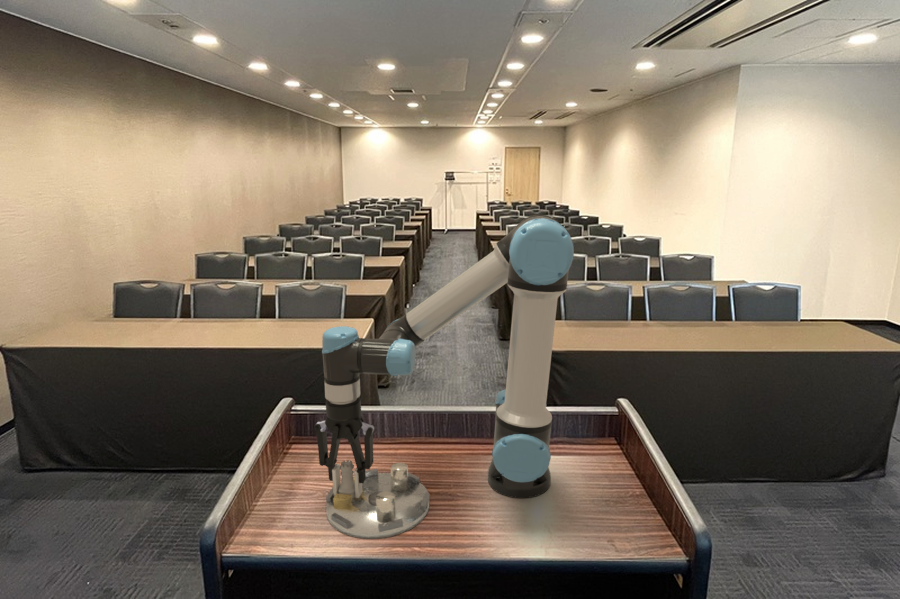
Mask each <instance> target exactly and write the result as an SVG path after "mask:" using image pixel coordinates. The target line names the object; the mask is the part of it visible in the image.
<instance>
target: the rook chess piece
mask: <svg viewBox="0 0 900 599" xmlns="http://www.w3.org/2000/svg"><path fill="white" fill-rule="evenodd" d="M354 467H355V465H354V463H353V461H352V460H350V459H346V461H345V460H342V462H341V463H340V467H339V468H340V476H341V480H340V482H341V484H340V487H339V489H338V491H339V493H338V494H347V495H352V498H354V497H355V482H354V480H353V477H354V471H353V469H354Z"/></svg>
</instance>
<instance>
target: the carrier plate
mask: <svg viewBox="0 0 900 599" xmlns="http://www.w3.org/2000/svg"><path fill="white" fill-rule="evenodd" d="M365 471H366V479H365V481H364V483H362V493H361V495H360V497H359V498H355V497H354V498H352V495H347V494H336V495H335V496H334V494H333V487H332V488H330V491H329V492H328V494H327V495H326V497H325V500H326V503H325V510H326V518H327V521H328V522H329V524H330V525H331V527H333V528H334V529H335V530H337V531H338V532H340V533H342V534H344V535H346V536H349V537H352V538H357V539H363V540H365V539H367V540H368V539H369V540H373V539H375V540H376V539H377V540H378V539H386V538H390V537H394V536H397V535H401V534H403V533H405V532H407V531H409V530H411V529H413V528H415V527H416V526H418V525H419V524H420V523H421V522H423V520H424V519H425V518H426V516H427V514H428V512H429V509H430V492H429V491H428V489H427V488H426V486H425V485H424V484H423V483H422V482H421V477H419V476H417V475H415V474H413V473H411V472H409V465H408V464H406V463H404V462H397V463H392V464H391V466H390V472H379V470H378V468H372V469H366V470H365ZM353 480H354V482H355V477H354V476H353Z"/></svg>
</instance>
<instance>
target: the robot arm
mask: <svg viewBox="0 0 900 599" xmlns="http://www.w3.org/2000/svg"><path fill="white" fill-rule="evenodd" d="M574 253H575V248H574V242H573V240H572V237H571V235H570V233H569V232H568V231H567V229H566V227H564V226H563V225H562V224H561V222H559V220H556V219H555V218H554V217H551V216H549V215H545V214H534V215H529V216H528V217H526V218H524V219H523V220H521V221H520V222H519V223H518V224H517V225H515V227H514V228H513V229H511V230H510V232H508V234H506V235H505V236H503V238H501V239H500V240H498V241H497V242H496V243H495V244H494V249H493V251H491V252H490V253H488V254H487V255H486V256H484V257H483V258H482V259H480V260H478V261H477V262H476V263H474V264H473V265H472V266H471V267H469V268H468V269H466V270H465V271H463V272H462V273H461V274H459V275H458V276H456V277H455V278H454V279H453V280H451V281H449V282H448V283H446V285H444V286H442V287H441V288H439V290H437V291H436V292H434V293H433V294H432V295H430V296H429V297H427V298H426V299H425V300H424V301H422V302H421V303H419V304H418V305H416V306H415V307H414V308H412V309H411V310H410V311H408V312H407V313H406V314H404V315H403V316H401V317H400V318H398V319H396V320H393V321H392V322H391V323H390V324H388V325H387V326H386V328H385V330H384V331H383V332H382V334H381V335H380V337H378V338H363V337H360V336H359V334H358V330H357V329H356V328H354V327H350V326H346V325H344V326H342V325H341V326H335V327H331V328H328V329H327V330H325V331H324V332H323V334H322V336H321V337H322V338H321V339H322V344H321V345H322V350H321V354H322V362H323V363H322V364H323V375H324V377H323V378H324V381H323V382H324V398H325V399H326V400H325V412H326V418H325V420H318V421H317V422H316V423H315V424H314V426H313V429H314V431H315V433H316V437H317V438H316V439H317V440H316V441H317V452H318V462H319V463H318V464H319V465H320V466H324V467H327V470H328V480H329V481H331V482H332V488H333V494H334V496H335V495H336V494H338V493H339V491H338V489H339V487H340V484H341V470H340V468H339V467H340V465H341V463H337V462H338V460H337V459H338V453H339V449H340V443H341V439H345V440H347V441H348V444H349V445H350V449H351V453H352V456H353V458H354V462H355V466H356V468H355V470H354V471H353V477H355V498H359V497H360V495H361V493H362V483H364V481H365V479H366V471H367V470H371V468H372V466H373V464H374V431H375V429H376V425H375V424H374V423H371V424H368V423H366V422H364V419H363V417H362V400H361V397H360V396H361V378H360V375H361V374H364V375H380V376H382V375H384V376H393V377H397V376H409V375H411V374H412V373H413V372H414V369H415V364H416V347H417V346H419V345H421V344H422V343H423V342H425V341H426V340H427V339H429V338H430V337H431V336H433V335H434V334H436V333H437V332H438V331H441V329H443V328H444V327H446V326H448V324H450V323H451V322H453V321H454V320H455V319H457V318H458V317H461V316H462V315H463V314H464V313H467V311H469V310H470V309H472V308H473V307H474V306H476V305H477V304H479V303H480V302H482V301H483V300H485V299H486V298H488V297H489V296H490V295H492V294H493V293H495V292H496V291H498V290H499V289H500V288H501V287H503V286H504V285H506V284H507V286H508V288H509V289H510V290H511V291H512V292H513V294H514V295H513V305H512V315H511V327H510V338H509V348H508V349H509V350H508V358H507V359H508V360H507V372H506V384H505V388H504V389H502V390H500V391H498V392H497V393H496V396H495V397H496V398H495V401H494V403H495V424H494V436H493V446H492V447H493V448H492V450H491V457H492V458H491V461H490V463H489V466H488V471H487V482H488V485H489V486H490V488H492V489H493V491H496V492H497V493H499V494H502V495H503V496H507V497H510V498H515V499H516V498H517V499H518V498H519V499H524V498H525V499H527V498H532V497H533V498H534V497H538V496H540V495H542V494H545V493H546V492H547V490H549V488H550V487H551V471H550V468H549V467H550V464H551V458H552V454H551V450H550V439H551V432H552V423H553V421H552V420H553V416H552V413H551V411H549V409H547V399H548V390H549V381H550V372H551V362H552V352H553V345H554V335H555V334H554V333H555V325H556V317H557V316H556V315H557V308H558V307H557V306H558V299H559V297H560V296H561V295H562V294H564V293H565V292H567V288H568V280H569V270H570V268H571V267H572V263H573V261H574V255H575V254H574ZM327 428H328V430H329V431H330V433H331V434H332V435H331V440H330V442H331V443H330V447H328V436H327V435H328V434H327ZM361 429H362V434H363V435H364V441H363V442H364V452H363V449H362V445H361V441H360V434H359V431H360V430H361ZM329 448H330V449H329Z"/></svg>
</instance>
